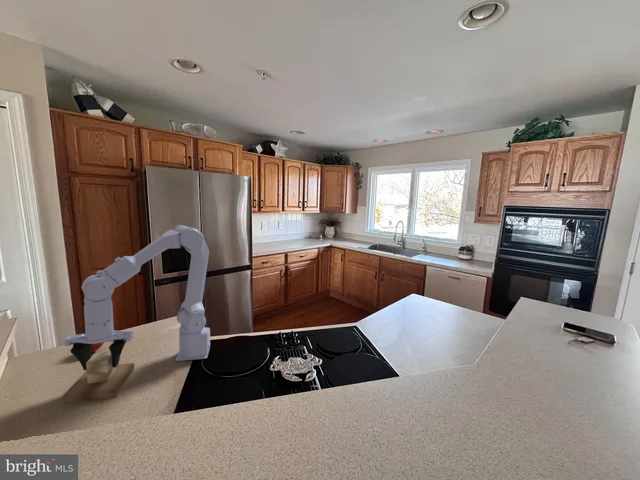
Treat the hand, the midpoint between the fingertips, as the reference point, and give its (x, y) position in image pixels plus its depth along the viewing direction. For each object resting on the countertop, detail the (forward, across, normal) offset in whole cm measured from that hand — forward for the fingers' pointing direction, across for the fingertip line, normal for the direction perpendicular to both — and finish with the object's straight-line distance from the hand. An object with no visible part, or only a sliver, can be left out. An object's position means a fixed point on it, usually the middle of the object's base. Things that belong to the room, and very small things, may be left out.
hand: (101, 366), depth 70 cm
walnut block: (+6, 0, 0) cm, 6 cm away
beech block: (+3, 0, 0) cm, 3 cm away
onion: (+6, +11, -18) cm, 22 cm away
